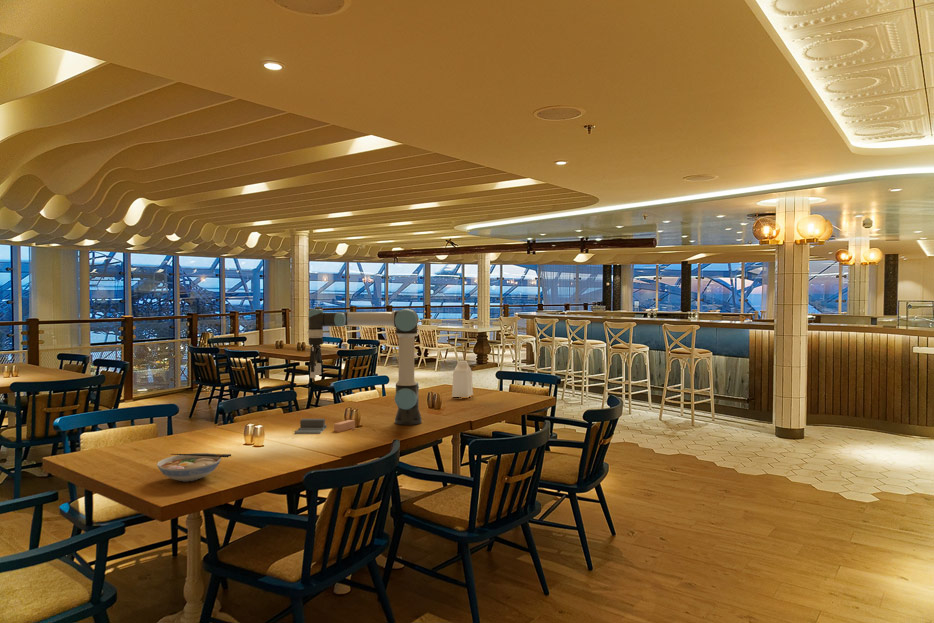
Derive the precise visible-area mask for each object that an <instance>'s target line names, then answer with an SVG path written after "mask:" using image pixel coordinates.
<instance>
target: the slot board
mask: <svg viewBox="0 0 934 623" xmlns="http://www.w3.org/2000/svg"><path fill="white" fill-rule="evenodd" d="M327 428H328V426H327V424H325V428H300V427H298V429H297V430H295V431H294V435H296V434H297V435H300V434H301V435H311V434H312V435H317V434H318V435H320V434H322V432H324V430H326V429H327Z"/></svg>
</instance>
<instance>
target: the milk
mask: <svg viewBox="0 0 934 623" xmlns="http://www.w3.org/2000/svg"><path fill="white" fill-rule="evenodd" d="M452 374H453V375H452V391H451V392H452V393H451V394H452V395H451V398H452V397H469V396H471V395H473V396H474V390H473V371H472V368H471V366H470V364H469V363H468V361H467V360H458V361H457V364H456V366H455V368H454V370H453V373H452Z"/></svg>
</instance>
